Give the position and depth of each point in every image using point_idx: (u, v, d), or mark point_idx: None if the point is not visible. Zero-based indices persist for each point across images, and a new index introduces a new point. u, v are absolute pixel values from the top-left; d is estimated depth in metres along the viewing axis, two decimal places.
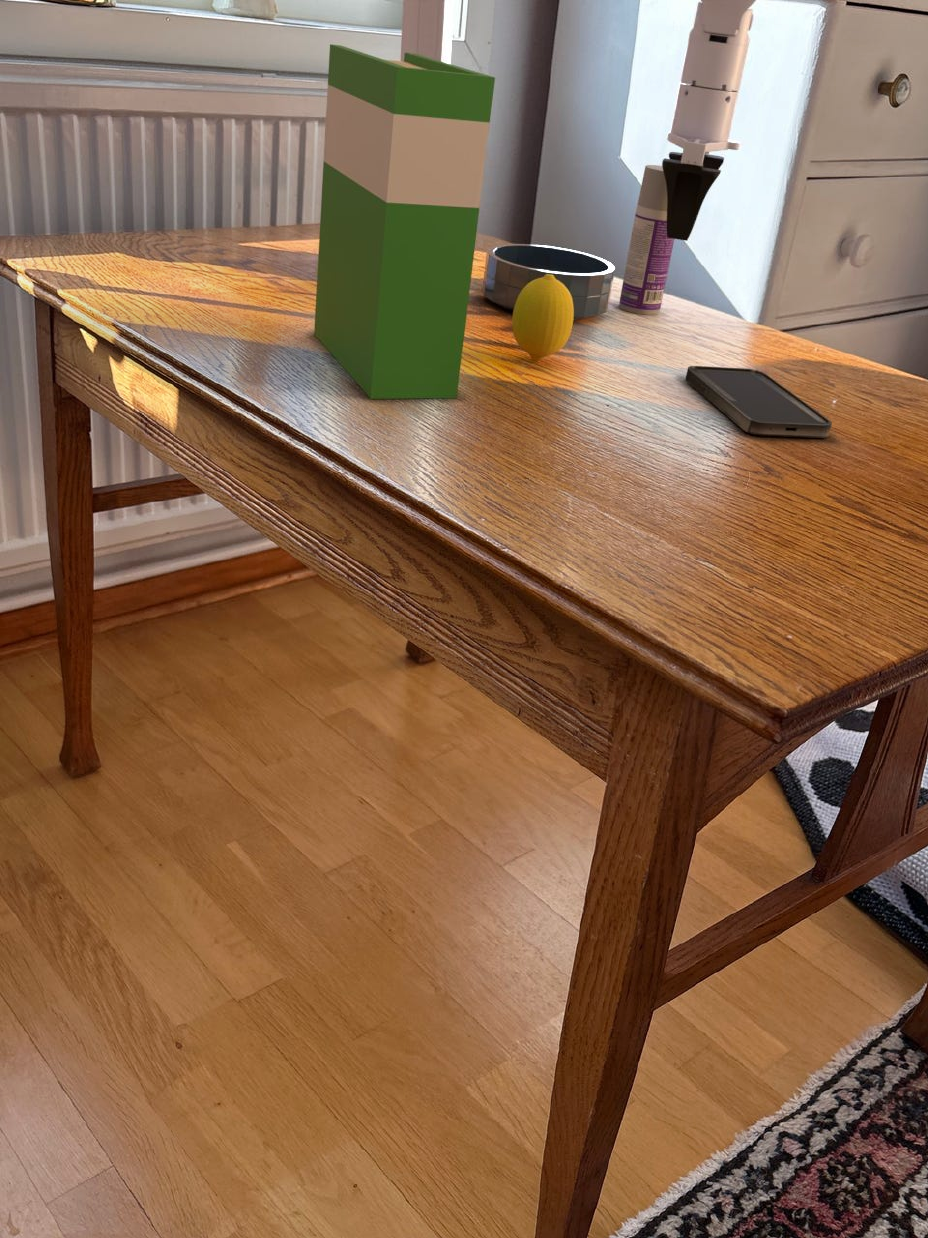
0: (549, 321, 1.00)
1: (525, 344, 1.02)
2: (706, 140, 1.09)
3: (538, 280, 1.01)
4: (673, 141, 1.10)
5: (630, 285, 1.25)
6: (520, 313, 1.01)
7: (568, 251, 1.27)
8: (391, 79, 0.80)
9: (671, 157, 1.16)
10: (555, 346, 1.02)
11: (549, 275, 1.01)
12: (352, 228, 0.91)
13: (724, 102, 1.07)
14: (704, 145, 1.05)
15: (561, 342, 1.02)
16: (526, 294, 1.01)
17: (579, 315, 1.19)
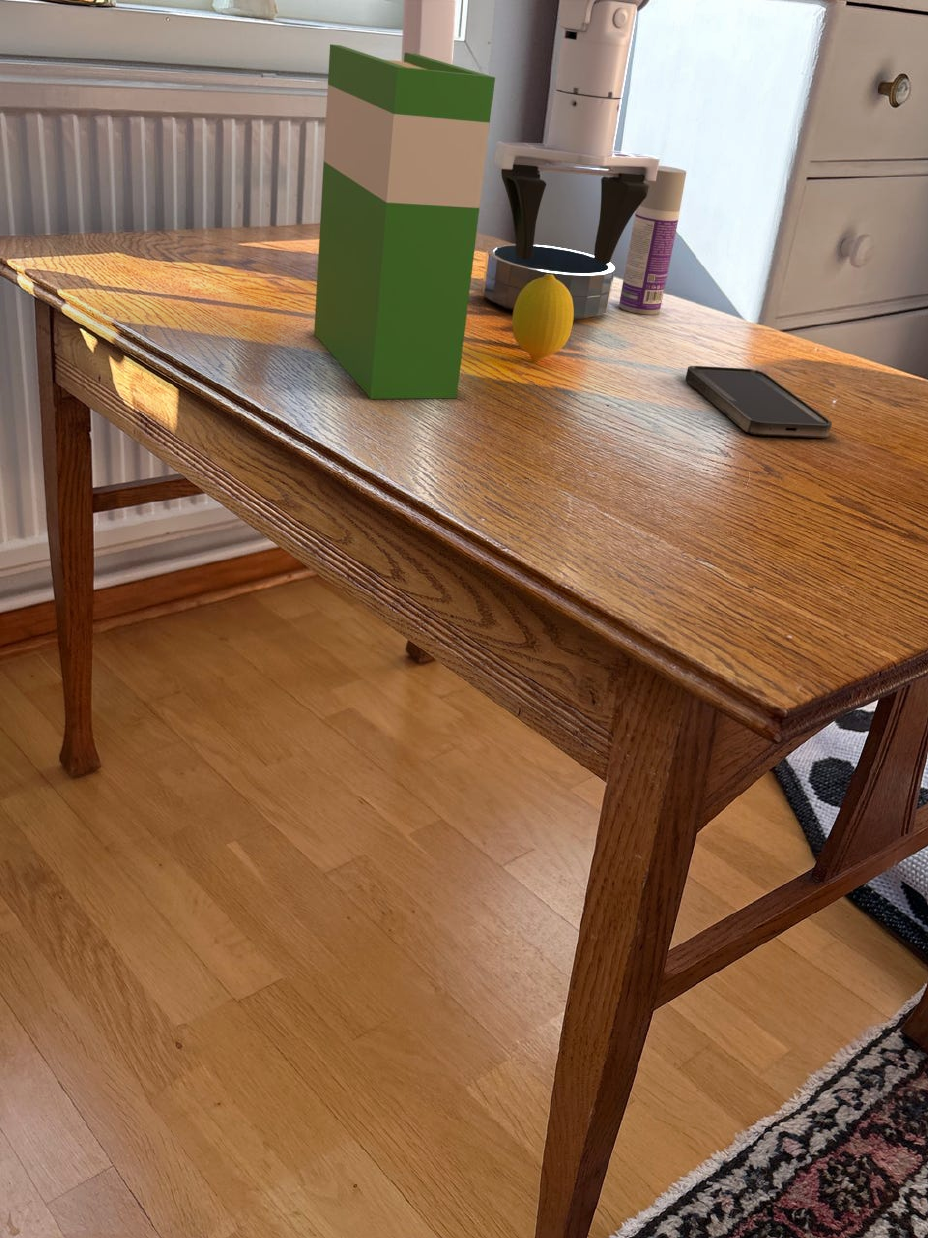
0: (549, 321, 1.00)
1: (525, 344, 1.02)
2: (553, 149, 0.96)
3: (538, 280, 1.01)
4: None
5: (630, 285, 1.25)
6: (520, 313, 1.01)
7: (568, 251, 1.27)
8: (391, 79, 0.80)
9: (602, 181, 1.02)
10: (555, 346, 1.02)
11: (549, 275, 1.01)
12: (352, 228, 0.91)
13: (569, 107, 0.93)
14: (503, 145, 0.94)
15: (561, 342, 1.02)
16: (526, 294, 1.01)
17: (579, 315, 1.19)
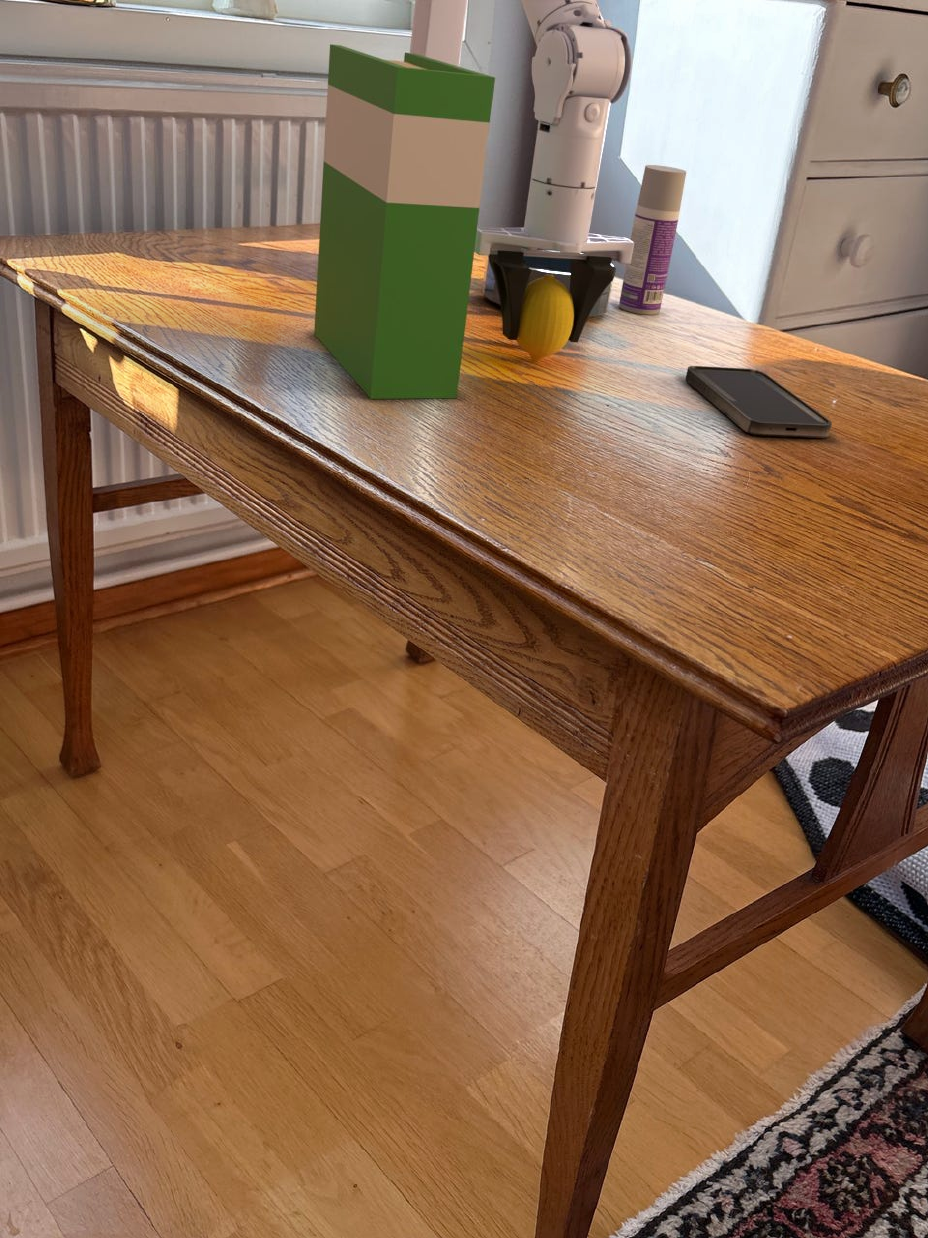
0: (550, 321, 1.00)
1: (525, 344, 1.02)
2: (529, 235, 0.98)
3: (538, 280, 1.01)
4: None
5: (630, 285, 1.25)
6: None
7: None
8: (391, 79, 0.80)
9: (571, 261, 1.04)
10: (555, 346, 1.02)
11: (549, 275, 1.01)
12: (352, 228, 0.91)
13: (544, 196, 0.96)
14: (480, 233, 0.97)
15: (562, 342, 1.02)
16: (526, 294, 1.01)
17: None
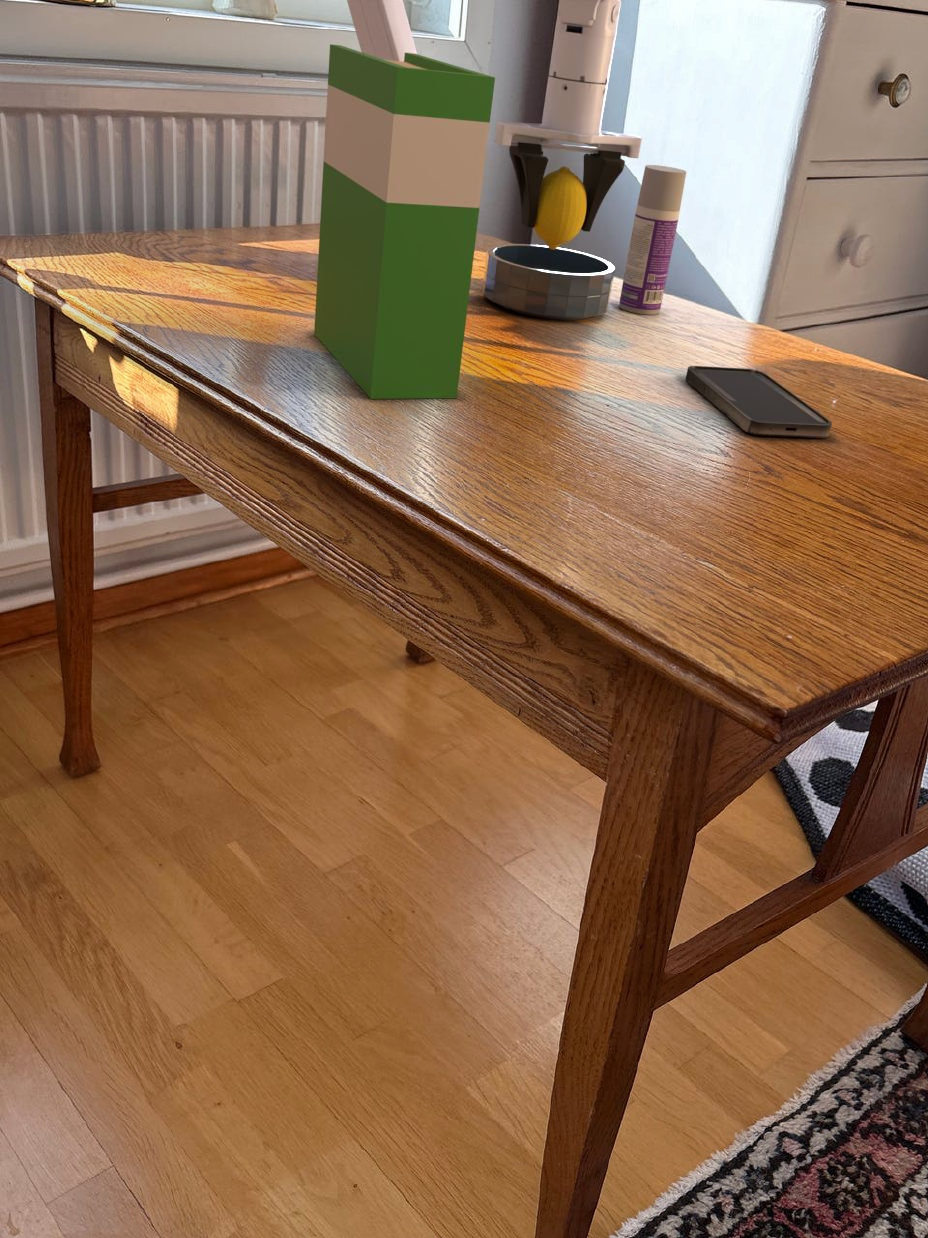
0: (564, 208, 1.11)
1: (542, 231, 1.13)
2: (546, 128, 1.08)
3: (554, 171, 1.11)
4: None
5: (630, 285, 1.25)
6: (538, 202, 1.12)
7: (568, 251, 1.27)
8: (391, 79, 0.80)
9: (584, 157, 1.14)
10: (569, 233, 1.13)
11: (564, 167, 1.11)
12: (352, 228, 0.91)
13: (561, 90, 1.06)
14: (502, 124, 1.07)
15: (575, 229, 1.13)
16: (543, 184, 1.11)
17: (579, 315, 1.19)
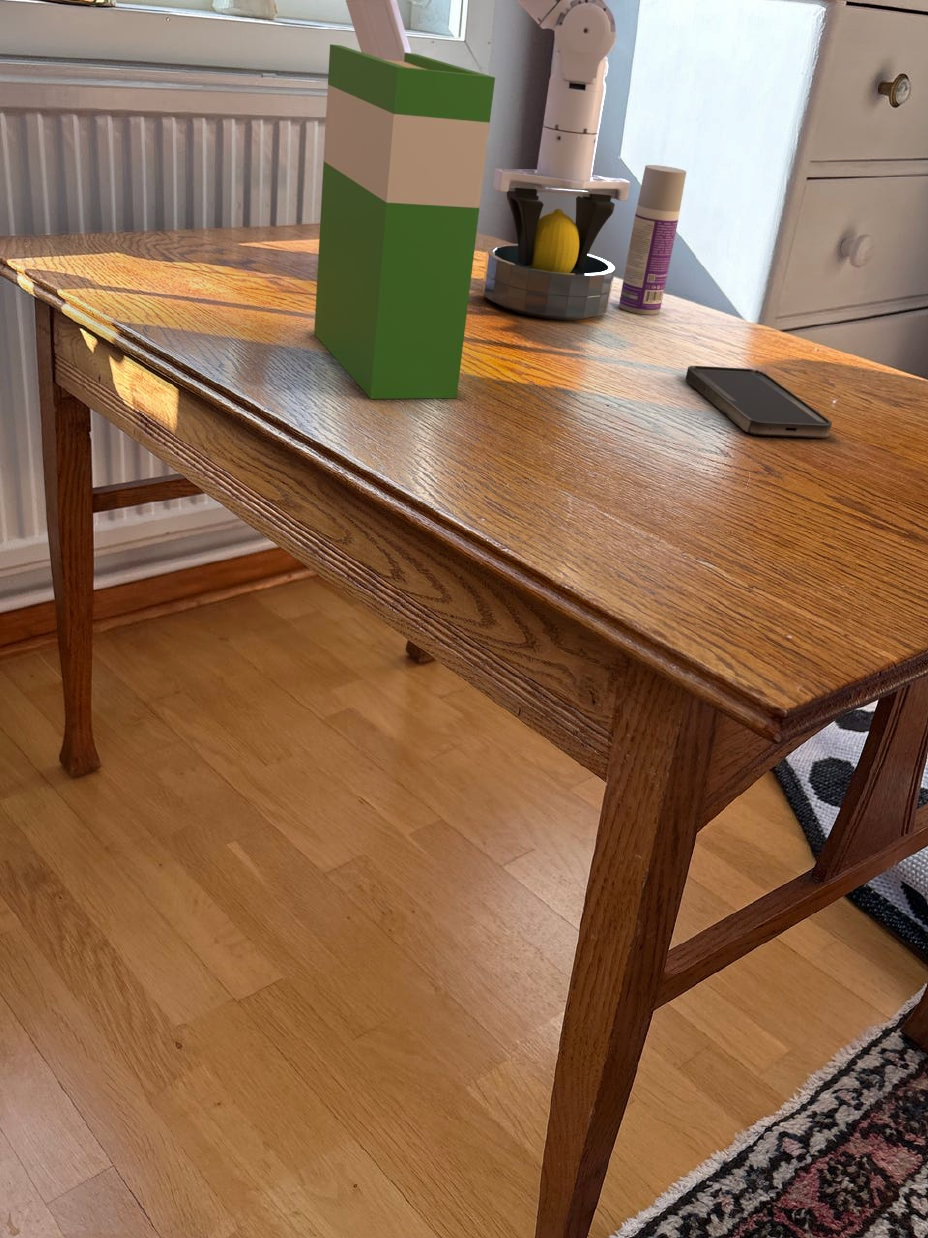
0: (559, 248, 1.19)
1: None
2: (541, 175, 1.16)
3: (549, 214, 1.19)
4: None
5: (630, 285, 1.25)
6: (534, 242, 1.20)
7: None
8: (391, 79, 0.80)
9: (576, 199, 1.22)
10: (563, 271, 1.21)
11: (558, 210, 1.19)
12: (352, 228, 0.91)
13: (554, 140, 1.14)
14: (500, 172, 1.15)
15: (569, 267, 1.21)
16: (539, 226, 1.19)
17: (579, 315, 1.19)
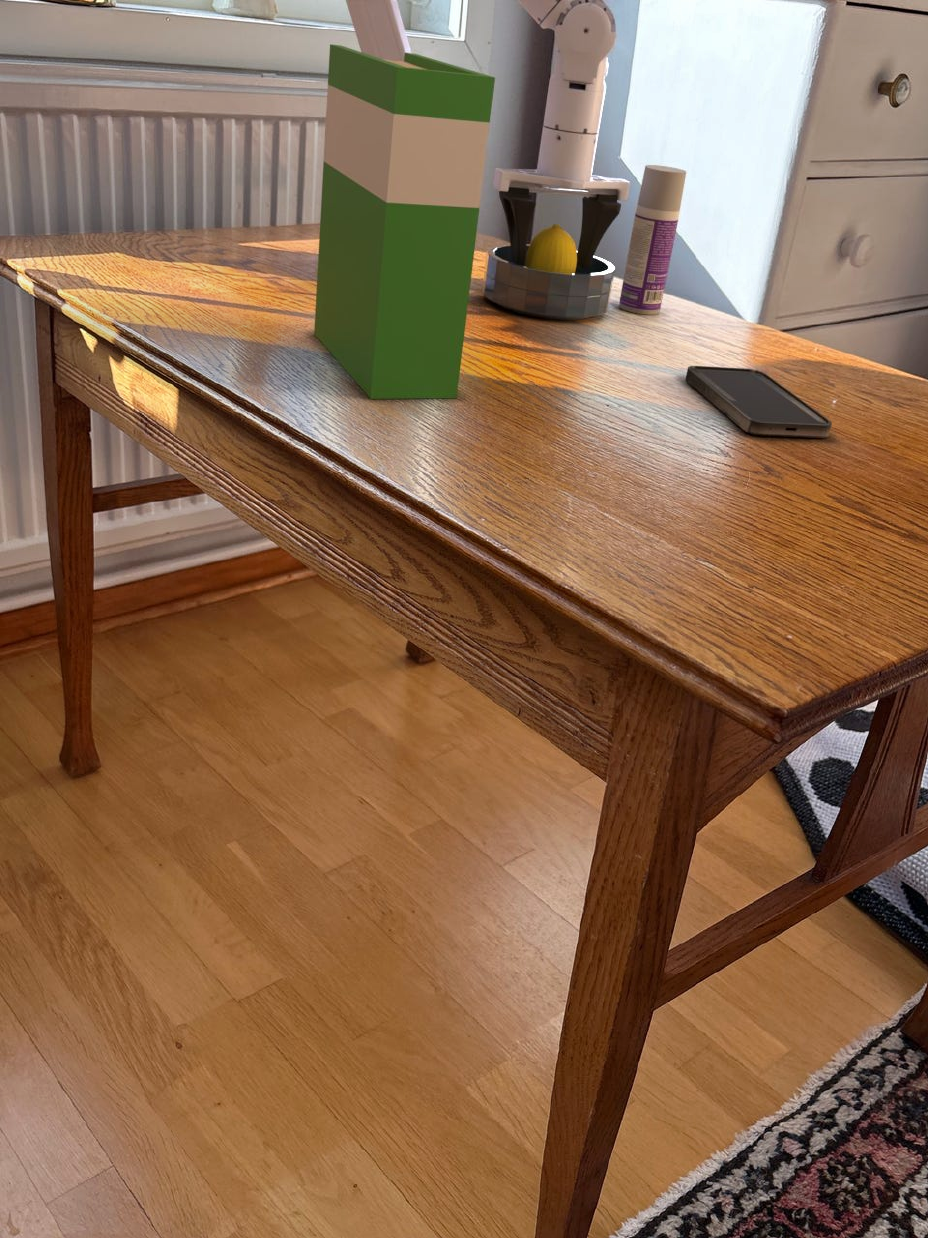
0: (556, 263, 1.20)
1: None
2: (541, 174, 1.16)
3: (547, 229, 1.20)
4: None
5: (630, 285, 1.25)
6: (531, 257, 1.20)
7: None
8: (391, 79, 0.80)
9: (583, 200, 1.22)
10: None
11: (556, 225, 1.20)
12: (352, 228, 0.91)
13: (554, 140, 1.14)
14: (500, 172, 1.15)
15: None
16: (536, 241, 1.20)
17: (579, 315, 1.19)
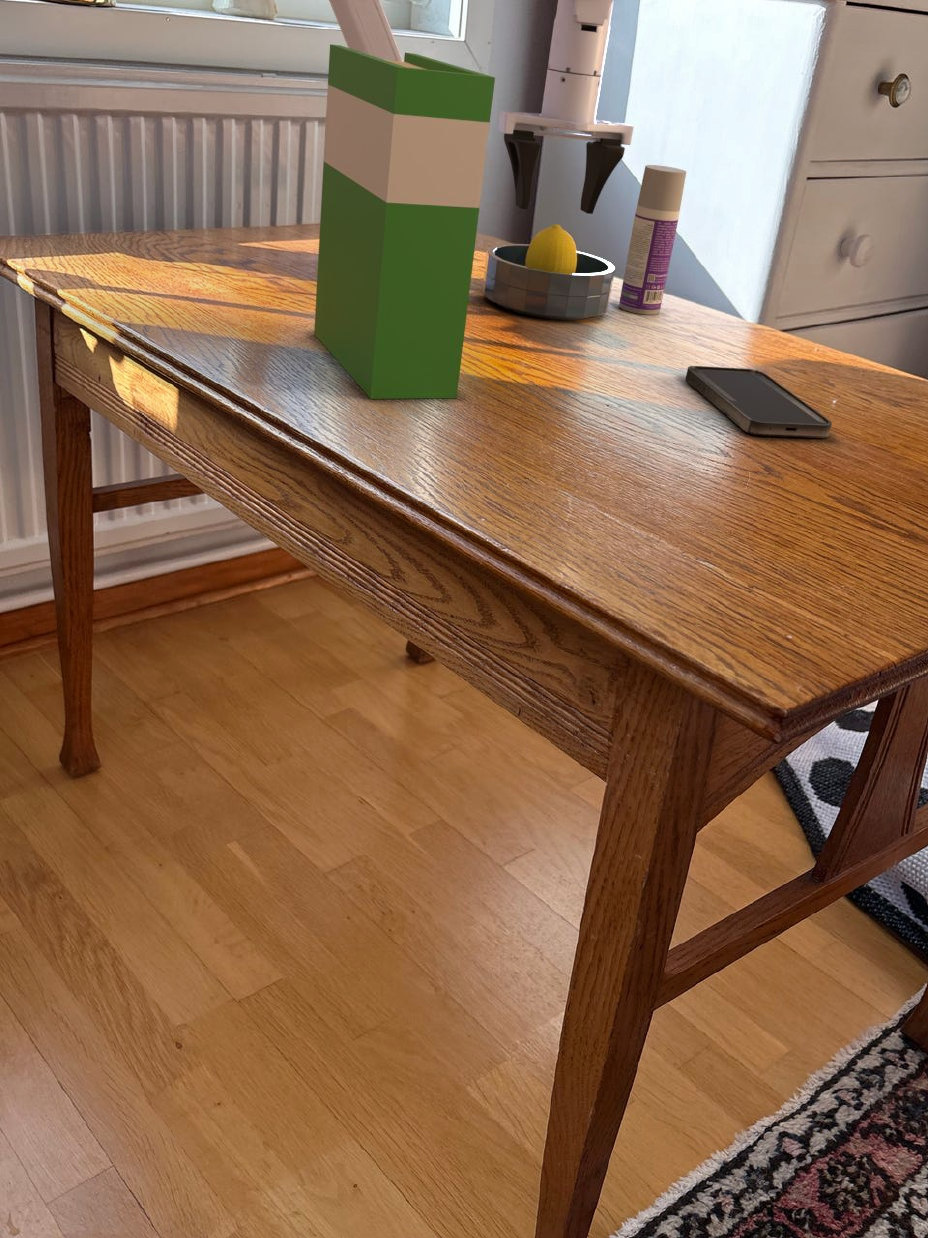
0: (556, 263, 1.20)
1: None
2: (546, 117, 1.17)
3: (547, 229, 1.20)
4: None
5: (630, 285, 1.25)
6: (531, 257, 1.20)
7: None
8: (391, 79, 0.80)
9: (587, 145, 1.23)
10: None
11: (556, 225, 1.20)
12: (352, 228, 0.91)
13: (559, 82, 1.15)
14: (505, 114, 1.16)
15: None
16: (536, 241, 1.20)
17: (579, 315, 1.19)
